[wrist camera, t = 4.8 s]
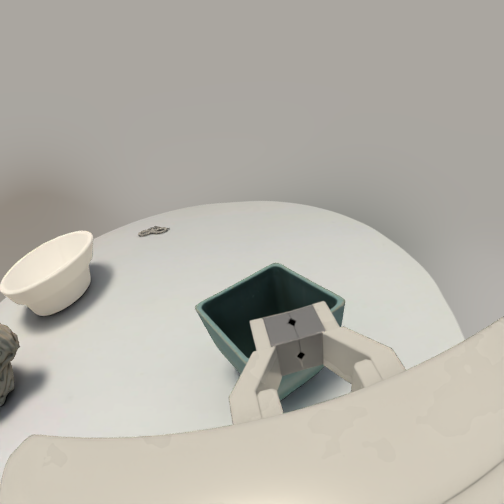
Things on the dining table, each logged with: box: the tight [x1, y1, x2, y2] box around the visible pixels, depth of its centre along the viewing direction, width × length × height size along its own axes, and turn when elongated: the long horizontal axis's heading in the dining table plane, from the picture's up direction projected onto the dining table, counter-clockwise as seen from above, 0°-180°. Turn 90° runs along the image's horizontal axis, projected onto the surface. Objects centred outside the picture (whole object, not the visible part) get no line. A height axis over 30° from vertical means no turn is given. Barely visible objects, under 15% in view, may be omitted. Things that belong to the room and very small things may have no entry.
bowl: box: [0, 231, 93, 316], centre depth 45 cm, size 21×21×8 cm
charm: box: [138, 226, 169, 236], centre depth 65 cm, size 8×1×4 cm
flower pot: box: [195, 263, 345, 400], centre depth 25 cm, size 9×9×9 cm
